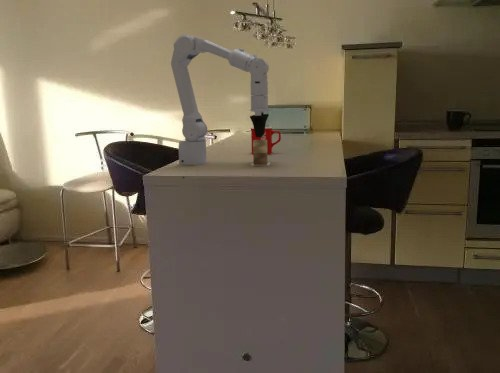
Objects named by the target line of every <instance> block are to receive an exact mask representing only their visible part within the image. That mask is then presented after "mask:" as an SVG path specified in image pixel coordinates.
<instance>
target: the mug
mask: <svg viewBox="0 0 500 373" xmlns="http://www.w3.org/2000/svg"><path fill="white" fill-rule="evenodd" d="M272 129H273V127H272V126H265V131H264V135H263V136H262V137H256V136H255V131H254V126H252V127H250V131H251V134H250V135H251V155H253V141H254V140H267V156H268V155H271V154H273V147H275V145H277V144H278V143H280V142H281V140H282V133H281V131H279V130H272ZM276 133H278V139H277V140H276V141H275V142H273V135H274V134H276Z"/></svg>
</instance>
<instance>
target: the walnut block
mask: <svg viewBox="0 0 500 373" xmlns="http://www.w3.org/2000/svg"><path fill="white" fill-rule="evenodd" d="M252 156H253V163H254V165H253V166H268V165H267V163H268V162H269V161H268V159H269V158H268V155H267V153H253V154H252Z"/></svg>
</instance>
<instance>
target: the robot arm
mask: <svg viewBox="0 0 500 373" xmlns="http://www.w3.org/2000/svg"><path fill="white" fill-rule="evenodd" d="M205 53H210V54H211V55H215V56H218V57H221V58H222V59H225V60H228V64H229V65H230V66H232V67H235V68H236V69H239V70H241V71H244V72H245V73H249V74H250V112H253V113H254V114H252V115H249V118H250V120H251V122H252V127H254V131H255V136H256V137H262V136H263V135H264V131H265V127H266V125H267V120H268V118H269V115H270V114H269V113H265V112H270V111H271V112H272V108H269V98H268V97H269V96H268V95H269V94H268V93H269V88H268V86H269V85H268V84H269V82H268V72H269V69H270V68H269V64H268V62H267V61H266V60H265V59H263V58H259V57H258V56H257V54H250V53H248V52H246V51H245V49H243V48H241V47H240V48H234V49H233V50H230V49H229V48H226V47H224V46H221V45H219V44H217V43H215V42H212V41H210V40H207V39H205V38H200V37H197V36H191V35H189V34H182V35H179V36H178V38H177V39H176V40H175V41H174V43H173V51H172V56H171V62H170V65H171V69H172V75H173V78H174V82H175V85H176V89H177V90H176V91H177V93H178V98H179V101H180V105H181V110H182V113H183V115H182V120H181V122H182V129H181V130H182V131H181V133H182V135H183V137H184V138H185V139H184V140H180V141H179V142H178V165H179V166H186V165H187V166H188V165H189V166H201V165H205V164H207V162H208V161H207V143H206V142H207V140H206V135H207V133H208V126H207V124H206V123H205V121H204V120H203V115H201V113H200V112H199V109H198V105H197V102H196V101H197V100H196V97H195V93H194V89H193V86H192V81H191V77H190V76H191V75H190V72H189V69H188V66H189V65H190V63H191V62H192V60H193V59H195V57H197V56H198V55H200V54H205Z"/></svg>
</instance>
